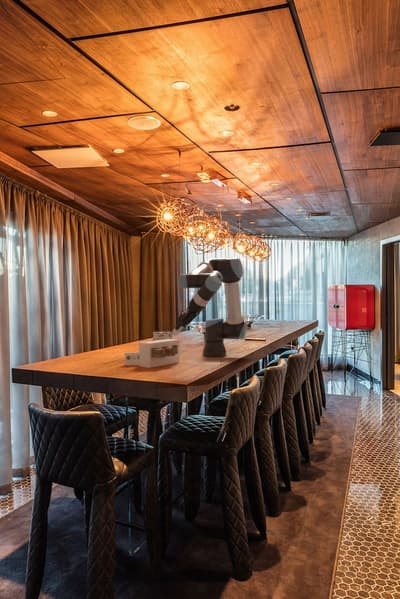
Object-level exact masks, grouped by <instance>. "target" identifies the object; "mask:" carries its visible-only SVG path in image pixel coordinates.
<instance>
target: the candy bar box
mask: <svg viewBox="0 0 400 599" xmlns="http://www.w3.org/2000/svg"><path fill="white" fill-rule="evenodd" d="M164 339H173V332H172V331H153V332H152V341H156V340H164Z"/></svg>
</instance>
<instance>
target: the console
mask: <svg viewBox="0 0 400 599" xmlns="http://www.w3.org/2000/svg"><path fill="white" fill-rule="evenodd" d="M138 343H139V344H138V352H139V365H138V366H139V367H142V368H149V369H150V368H155V367H161V366H167V365H172V364H178V363H180V339H176V338H174V339H173V338H172V339H164V340H156V341H153V340H150V341H149V340H148V341H142V342H138ZM173 345H176V346H177V353H175V356H170V357H169V356H165V357H164V358H153V357H151V349H152V348H158V349H162V347H172V346H173Z"/></svg>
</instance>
